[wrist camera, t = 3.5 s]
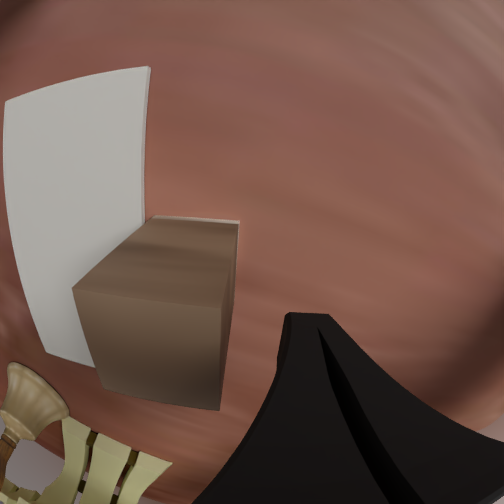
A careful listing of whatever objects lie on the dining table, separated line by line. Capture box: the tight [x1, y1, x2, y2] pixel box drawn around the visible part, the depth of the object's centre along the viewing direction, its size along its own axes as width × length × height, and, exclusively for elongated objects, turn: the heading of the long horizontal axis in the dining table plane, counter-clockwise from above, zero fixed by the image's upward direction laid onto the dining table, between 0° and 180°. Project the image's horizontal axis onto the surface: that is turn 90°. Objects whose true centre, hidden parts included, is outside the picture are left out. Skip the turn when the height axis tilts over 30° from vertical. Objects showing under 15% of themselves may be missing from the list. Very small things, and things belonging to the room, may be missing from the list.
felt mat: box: [3, 66, 151, 368], centre depth 13 cm, size 18×10×1 cm, turn 175°
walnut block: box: [72, 215, 239, 411], centre depth 10 cm, size 4×4×7 cm
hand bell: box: [0, 362, 69, 491], centre depth 12 cm, size 8×8×16 cm
